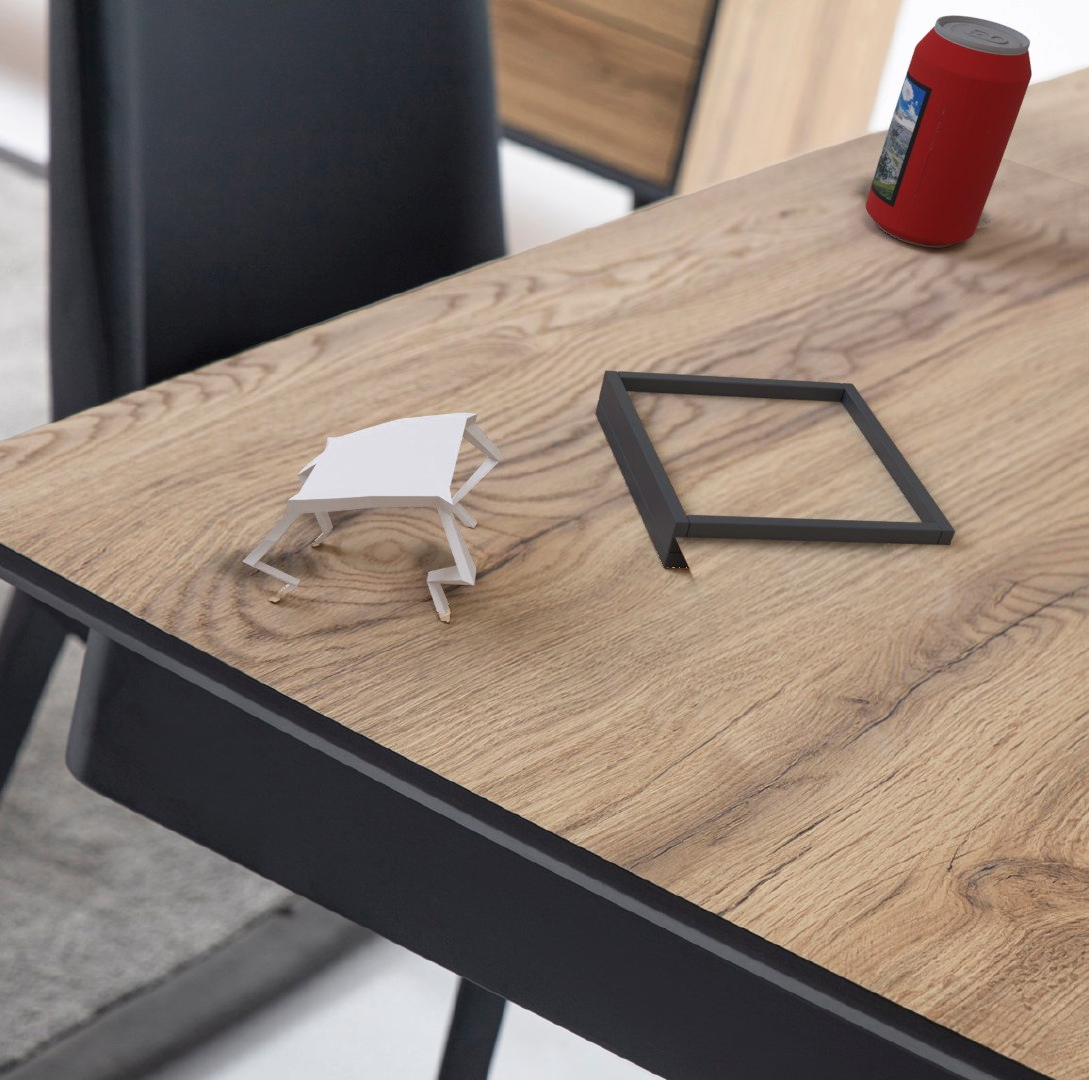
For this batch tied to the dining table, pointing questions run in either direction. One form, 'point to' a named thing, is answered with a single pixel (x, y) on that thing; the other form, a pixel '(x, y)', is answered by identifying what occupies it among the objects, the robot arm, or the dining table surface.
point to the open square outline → (671, 520)
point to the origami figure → (391, 485)
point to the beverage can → (949, 131)
